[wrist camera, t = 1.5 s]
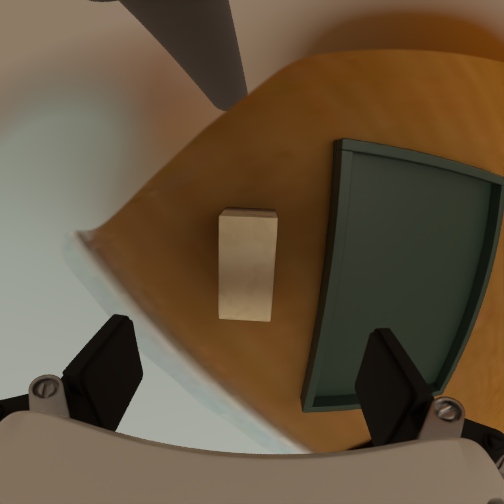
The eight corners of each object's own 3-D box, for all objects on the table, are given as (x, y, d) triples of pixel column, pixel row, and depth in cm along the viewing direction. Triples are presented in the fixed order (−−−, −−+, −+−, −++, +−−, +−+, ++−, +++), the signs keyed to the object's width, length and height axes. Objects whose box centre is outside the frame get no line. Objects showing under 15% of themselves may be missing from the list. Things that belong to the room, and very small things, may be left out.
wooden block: (225, 207, 20) (218, 215, 17) (275, 209, 20) (278, 218, 17) (224, 296, 22) (218, 318, 19) (269, 298, 22) (270, 321, 19)
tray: (334, 140, 18) (342, 137, 16) (492, 175, 18) (507, 178, 16) (300, 397, 25) (302, 412, 23) (434, 383, 25) (442, 394, 23)
